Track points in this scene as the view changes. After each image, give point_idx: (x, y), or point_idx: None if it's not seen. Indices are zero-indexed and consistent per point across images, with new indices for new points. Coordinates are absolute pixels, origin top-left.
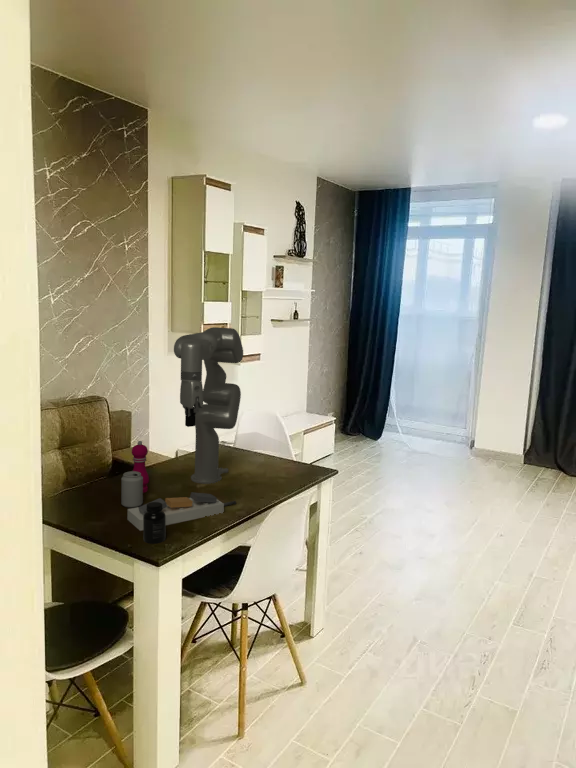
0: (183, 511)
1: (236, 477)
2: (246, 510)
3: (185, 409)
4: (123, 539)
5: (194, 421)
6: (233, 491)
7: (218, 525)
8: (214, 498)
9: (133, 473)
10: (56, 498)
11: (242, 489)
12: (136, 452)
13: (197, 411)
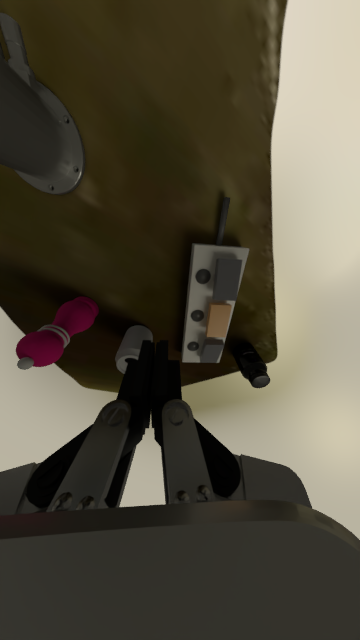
0: (230, 317)
1: (35, 3)
2: (256, 194)
3: (110, 490)
4: (220, 367)
5: (167, 361)
6: (153, 135)
7: (264, 277)
8: (240, 265)
9: (123, 360)
10: (85, 383)
11: (150, 92)
12: (57, 359)
13: (294, 486)
